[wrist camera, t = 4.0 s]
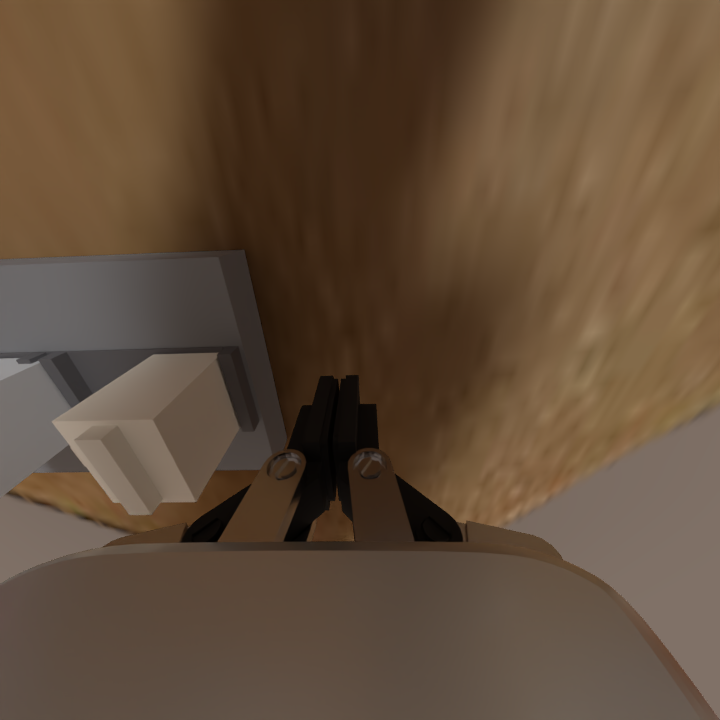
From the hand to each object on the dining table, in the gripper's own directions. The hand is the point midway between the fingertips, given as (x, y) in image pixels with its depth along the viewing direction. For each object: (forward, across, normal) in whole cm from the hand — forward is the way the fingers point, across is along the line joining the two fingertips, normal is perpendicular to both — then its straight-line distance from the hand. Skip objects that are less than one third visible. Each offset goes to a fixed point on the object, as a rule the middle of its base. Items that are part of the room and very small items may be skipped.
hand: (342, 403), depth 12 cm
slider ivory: (+1, +7, 0) cm, 7 cm away
